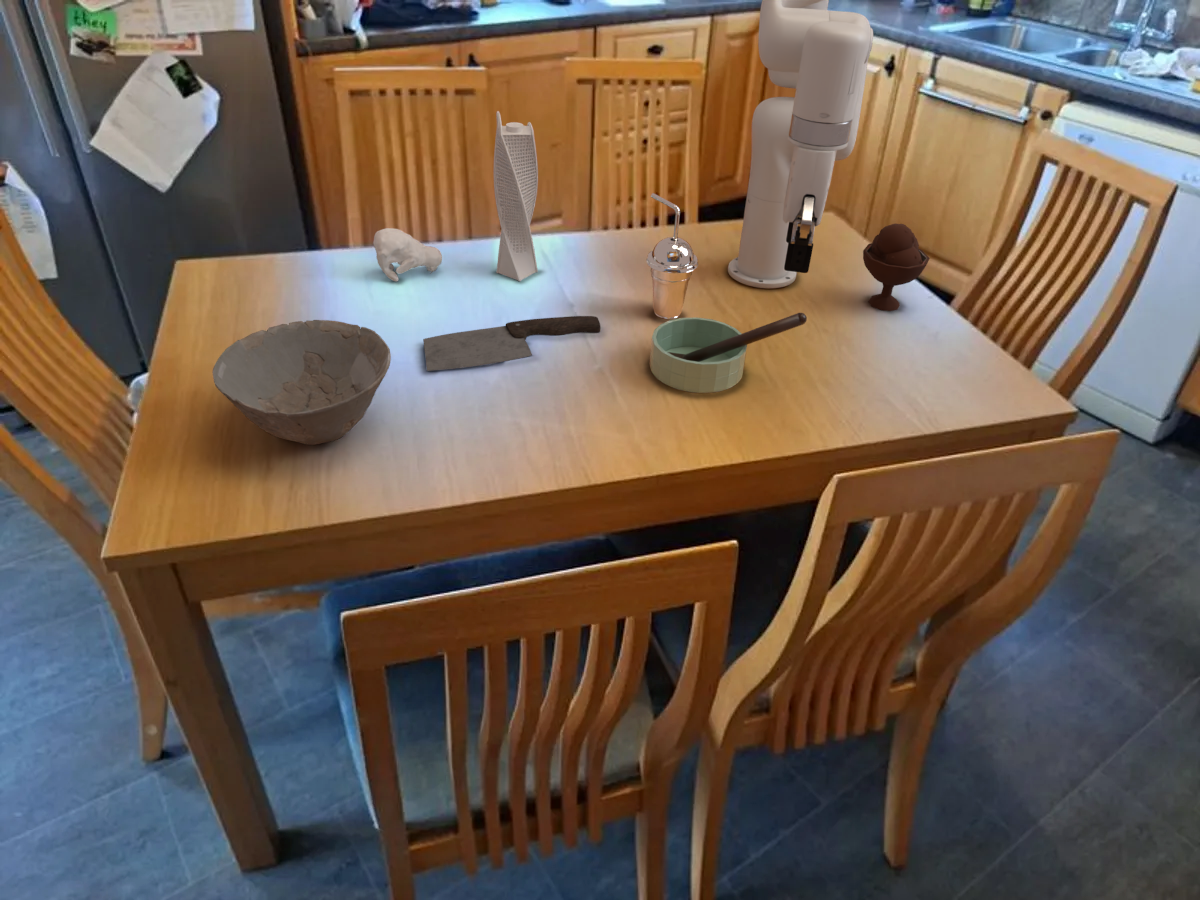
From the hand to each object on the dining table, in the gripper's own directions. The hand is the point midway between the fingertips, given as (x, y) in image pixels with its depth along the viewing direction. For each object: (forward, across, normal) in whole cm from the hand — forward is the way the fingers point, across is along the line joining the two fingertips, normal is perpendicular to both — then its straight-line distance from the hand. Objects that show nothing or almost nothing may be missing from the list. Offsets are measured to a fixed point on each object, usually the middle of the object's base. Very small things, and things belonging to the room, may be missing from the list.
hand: (796, 256), depth 123 cm
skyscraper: (+20, -27, -48) cm, 58 cm away
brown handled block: (+20, 0, -7) cm, 21 cm away
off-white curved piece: (+20, -21, -66) cm, 72 cm away
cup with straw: (+20, -18, -19) cm, 33 cm away
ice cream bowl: (+20, -32, +18) cm, 42 cm away
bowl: (+20, 0, -12) cm, 24 cm away
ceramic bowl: (+21, +27, -61) cm, 70 cm away
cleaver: (+21, -1, -41) cm, 46 cm away
